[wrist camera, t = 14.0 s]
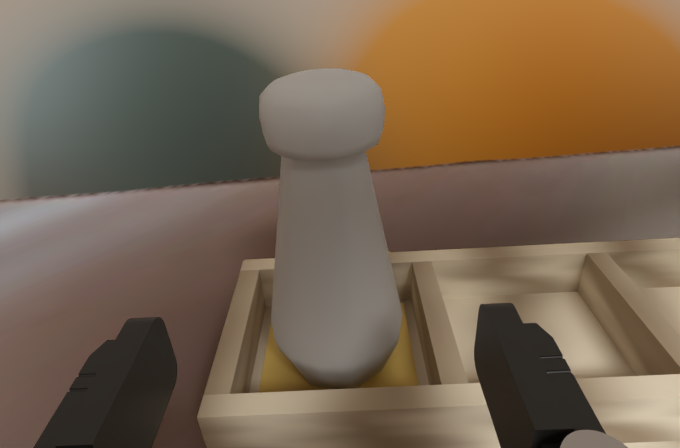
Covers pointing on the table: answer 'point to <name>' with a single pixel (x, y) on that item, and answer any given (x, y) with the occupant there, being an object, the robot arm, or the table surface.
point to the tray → (464, 350)
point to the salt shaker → (330, 228)
